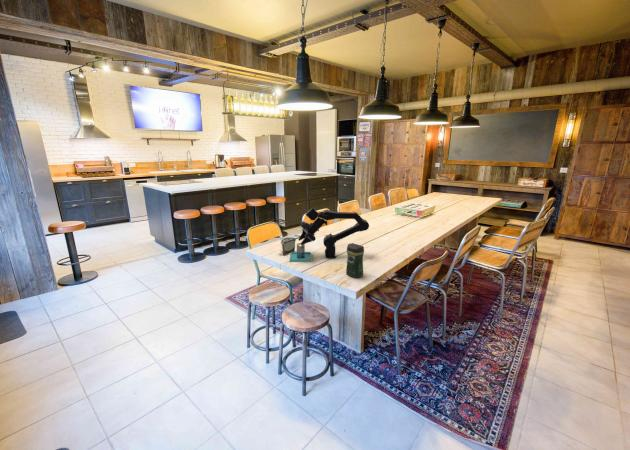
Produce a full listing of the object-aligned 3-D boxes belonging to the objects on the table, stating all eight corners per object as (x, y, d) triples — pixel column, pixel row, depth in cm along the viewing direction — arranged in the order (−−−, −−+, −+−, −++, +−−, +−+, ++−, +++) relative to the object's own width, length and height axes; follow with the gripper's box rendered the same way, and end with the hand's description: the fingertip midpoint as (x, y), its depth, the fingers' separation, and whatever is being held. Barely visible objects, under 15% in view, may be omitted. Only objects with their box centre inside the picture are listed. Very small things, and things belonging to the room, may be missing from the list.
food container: (289, 249, 212) (289, 236, 209) (296, 251, 208) (295, 237, 206) (277, 254, 203) (276, 240, 200) (283, 256, 199) (283, 242, 196)
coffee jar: (365, 275, 169) (366, 245, 165) (356, 279, 164) (357, 248, 160) (352, 270, 176) (353, 240, 172) (343, 274, 171) (344, 243, 167)
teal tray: (311, 254, 203) (311, 251, 202) (311, 261, 189) (311, 259, 189) (290, 254, 203) (290, 252, 202) (289, 261, 189) (289, 259, 189)
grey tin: (306, 256, 196) (306, 244, 194) (301, 259, 192) (301, 246, 190) (300, 255, 199) (300, 242, 197) (295, 257, 195) (295, 244, 193)
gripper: (305, 214, 198) (289, 230, 199) (310, 220, 181) (292, 238, 182) (316, 224, 202) (301, 240, 203) (322, 232, 184) (305, 250, 185)
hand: (299, 242), depth 193 cm, fingers open, 9 cm apart
